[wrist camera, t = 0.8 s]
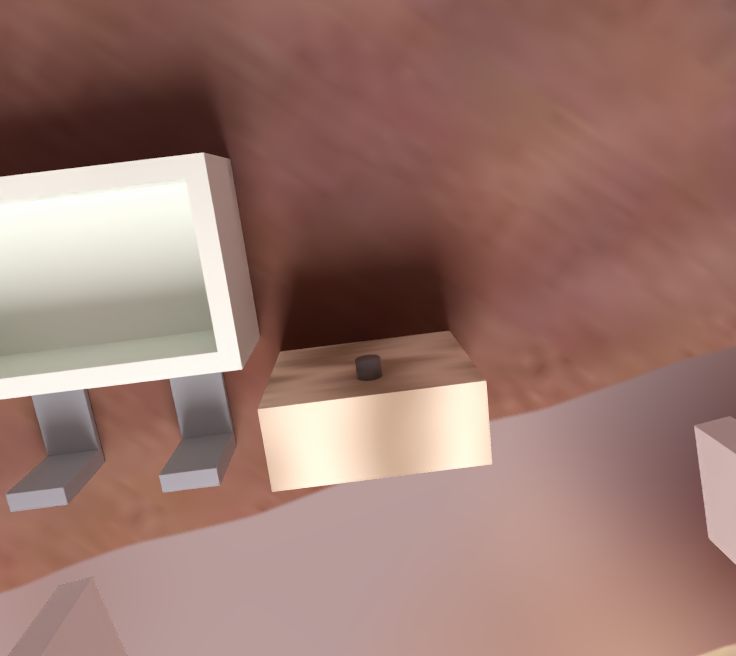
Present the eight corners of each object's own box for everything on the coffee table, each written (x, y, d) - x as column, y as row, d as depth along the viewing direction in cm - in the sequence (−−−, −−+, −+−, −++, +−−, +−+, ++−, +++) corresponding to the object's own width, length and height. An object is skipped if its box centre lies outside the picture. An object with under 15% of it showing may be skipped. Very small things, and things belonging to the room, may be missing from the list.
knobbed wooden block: (290, 414, 35) (272, 491, 26) (277, 336, 33) (254, 389, 25) (454, 394, 35) (492, 463, 26) (448, 315, 34) (484, 361, 25)
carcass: (14, 473, 35) (-53, 531, 29) (-68, 194, 31) (-165, 196, 25) (277, 440, 35) (263, 491, 29) (230, 158, 31) (203, 152, 25)
